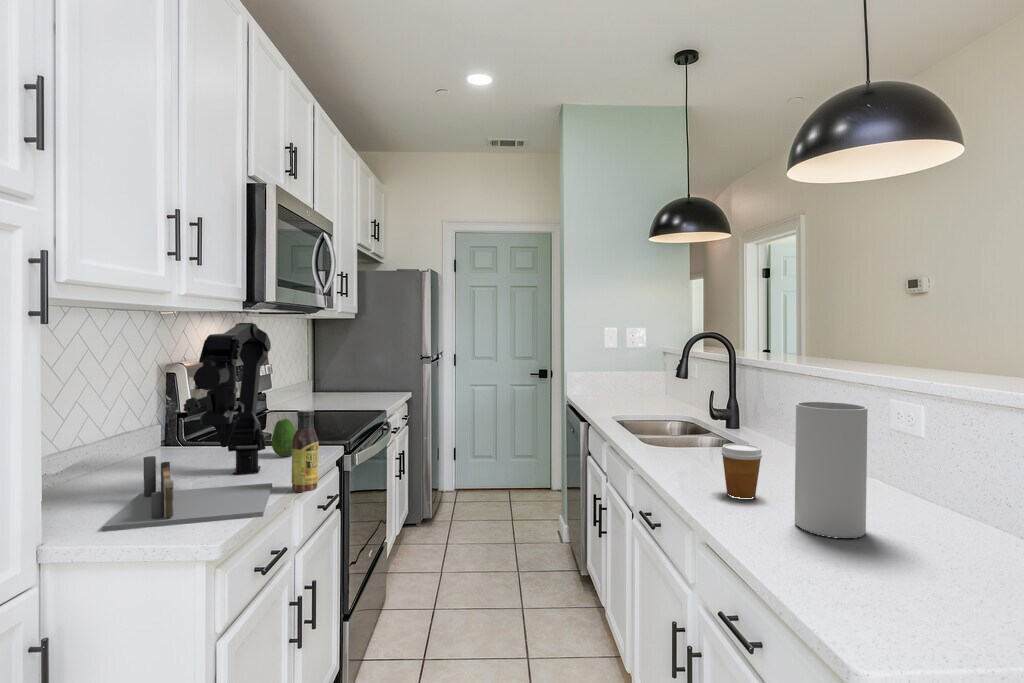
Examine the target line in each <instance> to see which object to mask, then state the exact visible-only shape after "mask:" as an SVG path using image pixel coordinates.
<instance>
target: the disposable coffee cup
mask: <svg viewBox="0 0 1024 683" xmlns="http://www.w3.org/2000/svg"><path fill="white" fill-rule="evenodd" d="M720 453H721V455H722V464H723V470H724V479H725V480H724V481H725V487H726V495H727V494H729V495H731V496H734V497H740V498H752V497H755V498H756V493H757V487H758V480H759V472H760V466H761V459H762V457H763V455H764V453H763V451H762V448H761V447H760V446H757V445H753V444H747V443H724V444H723V445H722V447H721V449H720Z"/></svg>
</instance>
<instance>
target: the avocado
mask: <svg viewBox="0 0 1024 683" xmlns="http://www.w3.org/2000/svg"><path fill="white" fill-rule="evenodd" d="M273 429H274V430H273V434H272V437H271V443H270V445H271V448H272V450H273V452H274V453H275V454H276V455H278V456H279V457H283V456H287V457H292V448H293V436H294V435H295V433H296V431H297V430H296V428H295V426H294V424H293V422H292V421H291V420H290V419H287V418H281V419H279V420H277V422H276V423H275V426H274V428H273Z"/></svg>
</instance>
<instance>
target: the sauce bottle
mask: <svg viewBox="0 0 1024 683" xmlns="http://www.w3.org/2000/svg"><path fill="white" fill-rule="evenodd" d="M296 412H297V413H296V415H297V430H296V433H295V435H294V436H293V448H292V455H291V485H292V486H291V490H292V491H293V492H295V493H296V492H298V493H305V492H311V491H315V490H316V489H317V488H318V482H319V448H320V447H319V446H320V445H319V442H320V441H319V438H318V436H317V433H316V430H315V424H314V421H315V420H314V417H315V410H314V409H298V410H297V411H296Z"/></svg>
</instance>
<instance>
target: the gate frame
mask: <svg viewBox="0 0 1024 683" xmlns="http://www.w3.org/2000/svg"><path fill="white" fill-rule="evenodd" d="M156 458H157V456H156V455H155V456H154V455H149V456H144V457H143V492H139V494H137V495H136V496H135V497H134V498H133V499H132V500H130V501H129V502H128V503H127V504H126V505H125V506H124V507H123V508H121V509H120V510H119V511H118V512H117V513H116V514H114V516H112V517H111V518H110V519H109V520H108V521H107V522H106V523H104V525H102V532H110V531H122V530H132V529H134V530H135V529H142V528H143V529H144V528H153V527H162V526H163V527H164V526H175V525H183V524H184V525H185V524H187V525H188V524H197V523H209V522H218V521H226V520H227V521H229V520H236V519H237V520H238V519H240V520H241V519H249V518H258V517H264V514H265V511H266V508H267V504H268V503H269V499H270V496H271V491H272V489H273V483H272V482H266V483H256V484H255V483H253V484H242V485H241V484H240V485H229V486H228V485H227V486H226V485H225V486H216V487H215V486H214V487H203V488H191V489H190V488H187V489H177V490H176V489H175V490H174V489H173V497H174V516H172V517H165V518H164V491H161V490H159V491H157V469H156V468H157V467H156V466H157V462H156V461H157V459H156Z"/></svg>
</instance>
